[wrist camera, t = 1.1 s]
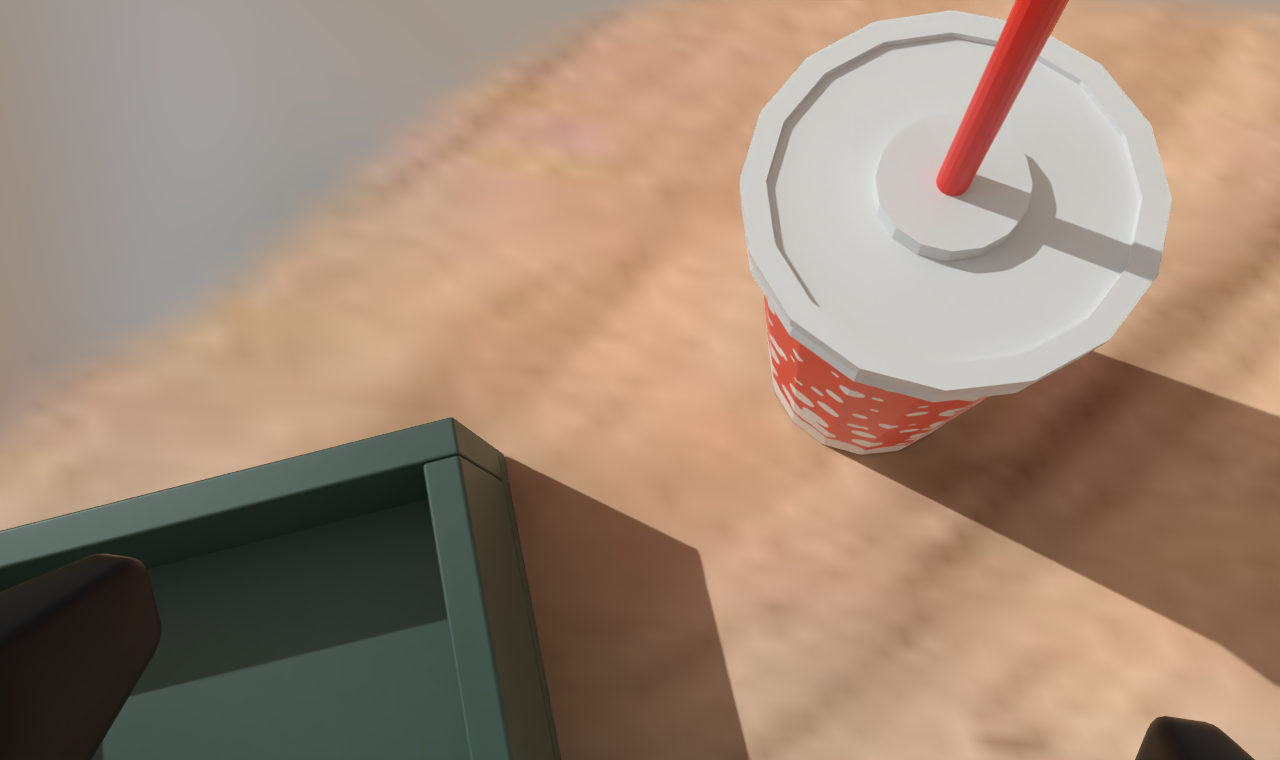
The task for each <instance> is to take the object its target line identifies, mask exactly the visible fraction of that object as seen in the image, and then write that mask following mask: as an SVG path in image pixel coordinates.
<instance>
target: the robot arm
mask: <svg viewBox="0 0 1280 760" xmlns="http://www.w3.org/2000/svg"><path fill="white" fill-rule="evenodd" d="M161 629H162V625H161V620H160V616H159V612H158V608H157V605H156V601H155V597H154V593H153V590H152V586H151V582H150V578H149V575H148V571H147V569H146V567H145V566H144V565H143V563H142V562H141V561H140V560H137V559H135V558H131V557H125V556H118V555H112V554H93V555H90V556H87V557H85V558H82V559H80V560H77V561H75V562H72V563H70V564H67V565H65V566H63V567H60V568H58V569H55V570H53V571H50V572H48V573H45V574H43V575H40V576H38V577H35V578H33V579H31V580H28V581H26V582H23V583H21V584H18V585H16V586H13V587H11V588H8V589H6V590H3V591H1V592H0V760H92V758H93V756H94V755H95V753H96V751H97V750H98V748H99V746H100V745H101V743H102V741H103V740H104V738H105V736H106V734H107V733H108V731H109V729H110V728H111V726H112V724H113V723H114V721H115V719H116V718H117V716H118V714H119V713H120V711H121V709H122V708H123V706H124V704H125V703H126V701H127V699H128V697H129V696H130V694H131V692H132V691H133V689H134V687H135V686H136V684H137V682H138V681H139V679H140V677H141V676H142V674H143V672H144V671H145V669H146V667H147V666H148V664H149V662H150V660H151V659H152V657H153V655H154V654H155V652H156V650H157V647H158V644H159V642H160V637H161ZM1135 760H1255V759H1253V758H1252V757H1251V756H1250V755H1249V754H1248V753H1247V752H1246V751H1244V750H1243V749H1242V748H1241V747H1240V746H1239V745H1238V744H1237V743H1235V742H1234V741H1233V740H1232V739H1231V738H1230V737H1229V736H1228V735H1226V734H1225V733H1224V732H1223V731H1221V730H1220V729H1219V728H1218V727H1216V726H1214V725H1212V724H1209V723H1206V722H1201V721H1194V720H1188V719H1181V718H1175V717H1168V716H1164V717H1158V718H1156V719H1155V720H1154V721H1153V722H1152V723H1151V724H1150V726H1149V728H1148V730H1147V732H1146V735H1145V737H1144V739H1143V742H1142V744H1141V747H1140V749H1139V752H1138V754H1137V756H1136V759H1135Z"/></svg>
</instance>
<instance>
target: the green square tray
mask: <svg viewBox="0 0 1280 760" xmlns="http://www.w3.org/2000/svg"><path fill="white" fill-rule="evenodd" d="M93 554H112V555H118V556H125V557H131V558H135V559H137V560H140V561H141V562H142V563H143V565H144V566H145V567H146V569H147V571H148V575H149V578H150V582H151V586H152V590H153V593H154V597H155V601H156V605H157V608H158V612H159V616H160V620H161V625H162V629H161V637H160V642H159V644H158V647H157V650H156V652H155V654H154V655H153V657H152V659H151V660H150V662H149V664H148V666H147V667H146V669H145V671H144V672H143V674H142V676H141V677H140V679H139V681H138V682H137V684H136V686H135V687H134V689H133V691H132V692H131V694H130V696H129V697H128V699H127V701H126V703H125V704H124V706H123V708H122V709H121V711H120V713H119V714H118V716H117V718H116V719H115V721H114V723H113V724H112V726H111V728H110V729H109V731H108V733H107V734H106V736H105V738H104V740H103V741H102V743H101V745H100V746H99V748H98V750H97V751H96V753H95V755H94V756H93V758H92V760H561V758H560V753H559V747H558V742H557V737H556V731H555V726H554V721H553V716H552V710H551V705H550V700H549V694H548V689H547V684H546V678H545V673H544V668H543V662H542V657H541V652H540V646H539V641H538V636H537V630H536V625H535V620H534V615H533V609H532V604H531V599H530V593H529V588H528V583H527V577H526V572H525V567H524V561H523V556H522V551H521V545H520V540H519V535H518V529H517V524H516V519H515V514H514V508H513V503H512V498H511V492H510V487H509V482H508V476H507V471H506V466H505V460H504V455H503V454H502V453H501V452H500V451H498V450H496V449H495V448H494V447H492V446H491V445H490V444H488V443H487V442H486V441H484V440H483V439H481V438H480V437H479V436H477V435H476V434H475V433H473V432H472V431H470V430H469V429H468V428H466V427H465V426H464V425H462V424H461V423H459V422H458V421H457V420H455V419H454V418H451V417H450V418H446V419H443V420H439V421H435V422H431V423H427V424H423V425H419V426H415V427H411V428H407V429H403V430H399V431H395V432H391V433H387V434H383V435H379V436H375V437H371V438H367V439H363V440H359V441H355V442H351V443H347V444H343V445H339V446H335V447H331V448H328V449H324V450H320V451H316V452H312V453H308V454H304V455H300V456H296V457H292V458H288V459H284V460H280V461H276V462H272V463H268V464H264V465H260V466H256V467H252V468H248V469H244V470H240V471H236V472H232V473H228V474H224V475H220V476H216V477H213V478H209V479H205V480H201V481H197V482H193V483H189V484H185V485H181V486H177V487H173V488H169V489H165V490H161V491H157V492H153V493H149V494H145V495H141V496H137V497H133V498H129V499H125V500H121V501H117V502H113V503H109V504H105V505H101V506H97V507H94V508H90V509H86V510H82V511H78V512H74V513H70V514H66V515H62V516H58V517H54V518H50V519H46V520H42V521H38V522H34V523H30V524H26V525H22V526H18V527H14V528H10V529H6V530H2V531H0V592H1V591H3V590H6V589H8V588H11V587H13V586H16V585H18V584H21V583H23V582H26V581H28V580H31V579H33V578H35V577H38V576H40V575H43V574H45V573H48V572H50V571H53V570H55V569H58V568H60V567H63V566H65V565H67V564H70V563H72V562H75V561H77V560H80V559H82V558H85V557H87V556H90V555H93Z"/></svg>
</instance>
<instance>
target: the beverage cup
mask: <svg viewBox="0 0 1280 760" xmlns="http://www.w3.org/2000/svg"><path fill="white" fill-rule="evenodd" d="M1068 1H1069V0H1016V1H1015V3H1014V6H1013V8H1012V10H1011V12H1010V15H1009V17H1008V19H1007V20H1003V19H997V18H992V17H986V16H981V15H975V14H970V13H965V12H959V11H954V10H950V11H944V12H937V13H930V14H923V15H916V16H909V17H902V18H895V19H888V20H882V21H875V22H873V23H871V24H869V25H867V26H865V27H863V28H861V29H859V30H858V31H856V32H854V33H852V34H850V35H848V36H846V37H844V38H842V39H840V40H839V41H837V42H835V43H833V44H831V45H829V46H827V47H825V48H823V49H821V50H820V51H818V52H816V53H814V54H812V55H810V56H808V57H807V58H806V59H805V61H804V62H803V63H802V64H801V65H800V66H799V68H798V69H797V70H796V71H795V72H794V73H793V74H792V76H791V77H790V78H789V79H788V80H787V81H786V83H785V84H784V85H783V86H782V87H781V88H780V90H779V91H778V92H777V93H776V94H775V95H774V97H773V98H772V99H771V100H770V101H769V102H768V104H767V105H766V106H765V107H764V108H763V109H762V110H761V112H760V115H759V118H758V121H757V125H756V128H755V131H754V134H753V138H752V141H751V144H750V147H749V151H748V154H747V157H746V160H745V164H744V167H743V170H742V173H741V177H740V185H739V189H740V196H741V206H742V213H743V221H744V228H745V235H746V243H747V250H748V258H749V265H750V272H751V274H752V276H753V277H754V279H755V280H756V282H757V284H758V285H759V287H760V289H761V290H762V292H763V293H764V299H765V311H766V323H767V334H768V346H769V357H770V364H771V372H772V379H773V386H774V391H775V393H776V394H777V396H778V398H779V399H780V401H781V403H782V404H783V406H784V408H785V409H786V411H787V413H788V414H789V416H790V418H791V419H792V421H793V422H794V423H795V424H797V425H798V426H799V427H801V428H802V429H803V430H805V431H806V432H807V433H809V434H810V435H811V436H812V437H814V438H815V439H816V440H818V441H819V442H820V443H822V444H823V445H827V446H830V447H834V448H838V449H841V450H845V451H848V452H852V453H856V454H859V455H863V454H872V453H882V452H891V451H899V450H901V449H903V448H904V447H906V446H908V445H910V444H912V443H914V442H915V441H917V440H919V439H921V438H923V437H925V436H926V435H928V434H930V433H932V432H933V431H935V430H937V429H938V428H940V427H941V426H943V425H944V424H946V423H948V422H949V421H951V420H952V419H954V418H956V417H957V416H959V415H960V414H962V413H963V412H965V411H967V410H968V409H970V408H971V407H973V406H975V405H976V404H978V403H979V402H981V401H982V400H984V399H986V398H987V397H989V396H995V395H1004V394H1013V393H1017V392H1019V391H1021V390H1023V389H1025V388H1026V387H1028V386H1030V385H1032V384H1034V383H1036V382H1037V381H1039V380H1041V379H1043V378H1045V377H1046V376H1048V375H1050V374H1052V373H1054V372H1056V371H1057V370H1059V369H1061V368H1063V367H1065V366H1067V365H1068V364H1070V363H1072V362H1074V361H1076V360H1078V359H1079V358H1081V357H1083V356H1085V355H1086V354H1087V353H1089V352H1091V351H1093V350H1095V349H1096V348H1098V347H1100V346H1102V345H1103V344H1105V343H1106V342H1107V341H1109V340H1110V339H1111V337H1112V336H1113V335H1114V333H1115V332H1116V331H1117V329H1118V328H1119V327H1120V325H1121V324H1122V323H1123V321H1124V320H1125V319H1126V317H1127V316H1128V315H1129V313H1130V312H1131V311H1132V309H1133V308H1134V307H1135V305H1136V304H1137V303H1138V301H1139V300H1140V299H1141V297H1142V296H1143V295H1144V293H1145V292H1146V290H1147V289H1148V288H1149V286H1150V285H1151V284H1152V282H1153V281H1154V280H1155V278H1156V277H1157V276H1158V273H1159V268H1160V262H1161V257H1162V251H1163V246H1164V240H1165V235H1166V229H1167V224H1168V218H1169V213H1170V207H1171V202H1172V197H1171V193H1170V190H1169V186H1168V183H1167V179H1166V176H1165V172H1164V169H1163V165H1162V162H1161V158H1160V155H1159V151H1158V148H1157V144H1156V140H1155V137H1154V133H1153V130H1152V126H1151V124H1150V123H1149V122H1148V121H1147V119H1146V118H1145V117H1144V116H1143V115H1142V113H1141V112H1140V111H1139V110H1138V108H1137V107H1136V106H1135V105H1134V104H1133V102H1132V101H1131V100H1130V99H1129V98H1128V96H1127V95H1126V94H1125V93H1124V92H1123V90H1122V89H1121V88H1120V87H1119V85H1118V84H1117V83H1116V82H1115V81H1114V79H1113V78H1112V77H1111V76H1110V75H1109V73H1108V72H1107V71H1106V70H1105V68H1104V67H1103V66H1102V65H1101V64H1100V63H1098V62H1096V61H1094V60H1093V59H1091V58H1089V57H1087V56H1085V55H1084V54H1082V53H1080V52H1078V51H1077V50H1075V49H1073V48H1071V47H1070V46H1068V45H1066V44H1064V43H1063V42H1061V41H1059V40H1057V39H1056V38H1054V37H1052V36H1050V34H1051V33H1052V31H1053V29H1054V27H1055V25H1056V23H1057V21H1058V19H1059V18H1060V16H1061V14H1062V12H1063V10H1064V8H1065V6H1066V4H1067V3H1068Z"/></svg>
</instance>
